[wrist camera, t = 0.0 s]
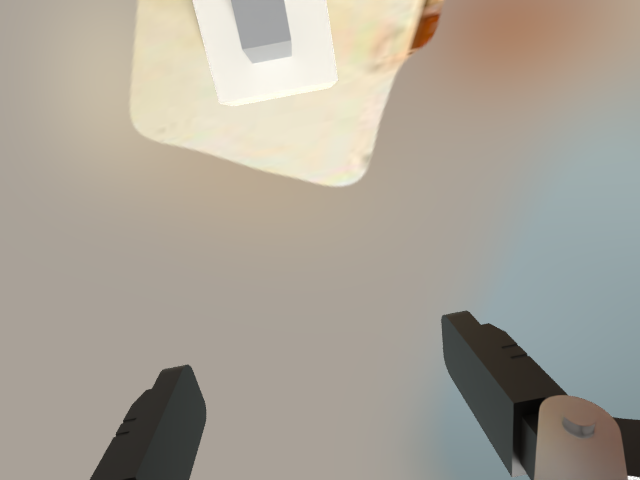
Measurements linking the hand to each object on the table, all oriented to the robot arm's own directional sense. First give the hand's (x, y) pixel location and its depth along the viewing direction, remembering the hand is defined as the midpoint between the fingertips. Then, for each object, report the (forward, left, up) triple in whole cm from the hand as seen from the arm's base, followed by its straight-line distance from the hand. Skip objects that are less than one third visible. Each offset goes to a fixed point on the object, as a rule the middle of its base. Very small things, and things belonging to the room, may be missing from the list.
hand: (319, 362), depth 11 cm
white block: (-13, 0, -29) cm, 32 cm away
